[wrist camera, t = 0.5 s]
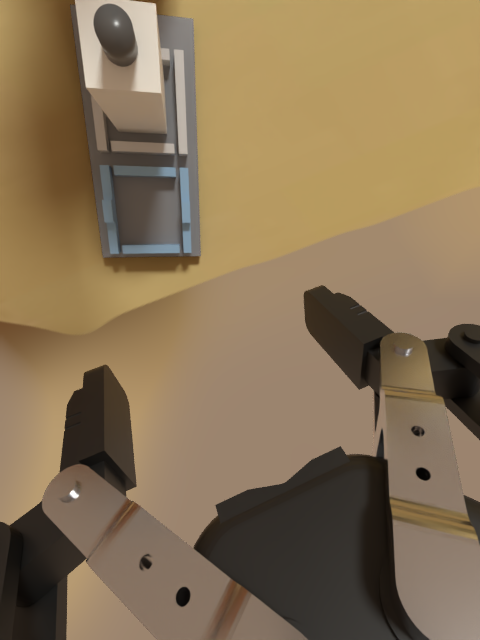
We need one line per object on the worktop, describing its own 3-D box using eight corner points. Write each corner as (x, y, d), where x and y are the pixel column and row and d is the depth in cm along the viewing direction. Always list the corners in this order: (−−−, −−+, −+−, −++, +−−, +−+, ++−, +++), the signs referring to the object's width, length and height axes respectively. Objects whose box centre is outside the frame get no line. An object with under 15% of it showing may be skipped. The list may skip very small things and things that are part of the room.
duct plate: (73, 11, 27) (61, -12, 24) (192, 25, 28) (194, 4, 26) (105, 256, 33) (98, 260, 30) (200, 254, 35) (201, 258, 32)
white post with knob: (112, 74, 28) (61, -33, 16) (164, 78, 28) (152, -21, 16) (118, 131, 29) (75, 73, 17) (167, 134, 30) (159, 80, 18)
